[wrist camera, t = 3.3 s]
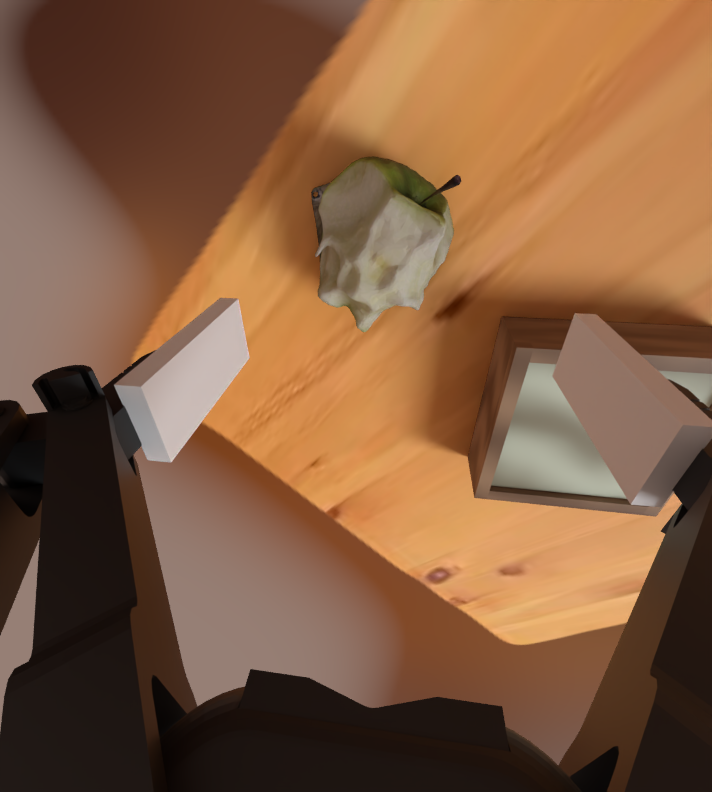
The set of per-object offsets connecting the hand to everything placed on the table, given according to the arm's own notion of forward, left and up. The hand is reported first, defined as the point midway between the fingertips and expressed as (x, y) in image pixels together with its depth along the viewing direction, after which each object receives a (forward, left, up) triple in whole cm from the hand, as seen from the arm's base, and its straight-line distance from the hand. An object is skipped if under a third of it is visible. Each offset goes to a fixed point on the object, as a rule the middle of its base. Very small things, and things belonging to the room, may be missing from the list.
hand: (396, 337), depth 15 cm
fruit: (-1, -1, -13) cm, 13 cm away
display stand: (+11, +14, -12) cm, 22 cm away
